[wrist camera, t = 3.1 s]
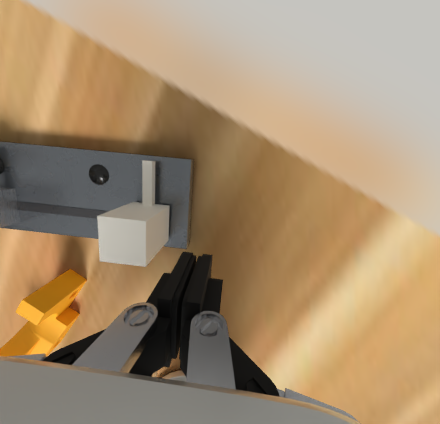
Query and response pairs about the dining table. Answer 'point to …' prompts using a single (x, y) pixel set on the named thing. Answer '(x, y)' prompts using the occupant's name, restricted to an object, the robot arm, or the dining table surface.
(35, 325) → the pipe clamp
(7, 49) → the dining table surface
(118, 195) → the plate
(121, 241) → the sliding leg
